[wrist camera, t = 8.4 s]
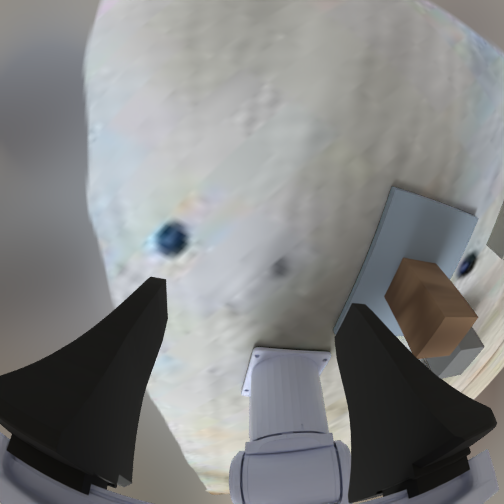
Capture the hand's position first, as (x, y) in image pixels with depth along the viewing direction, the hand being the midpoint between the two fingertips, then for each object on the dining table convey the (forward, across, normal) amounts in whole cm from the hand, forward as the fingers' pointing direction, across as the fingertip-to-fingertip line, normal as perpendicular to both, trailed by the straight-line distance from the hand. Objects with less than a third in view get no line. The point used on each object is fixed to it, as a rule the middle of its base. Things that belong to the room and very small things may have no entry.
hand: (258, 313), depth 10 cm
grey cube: (+10, -25, +10) cm, 29 cm away
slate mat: (+9, -14, +3) cm, 17 cm away
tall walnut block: (+9, -14, +3) cm, 17 cm away
